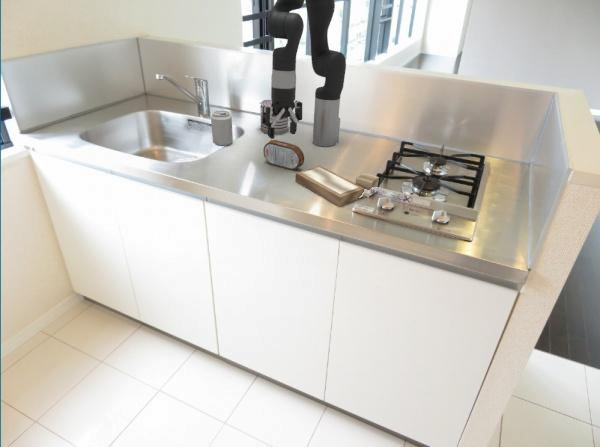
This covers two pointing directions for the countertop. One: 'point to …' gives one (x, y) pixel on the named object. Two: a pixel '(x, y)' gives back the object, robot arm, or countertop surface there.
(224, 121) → the can
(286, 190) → the countertop surface
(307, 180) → the block
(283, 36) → the robot arm
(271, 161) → the tin
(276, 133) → the can
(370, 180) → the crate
